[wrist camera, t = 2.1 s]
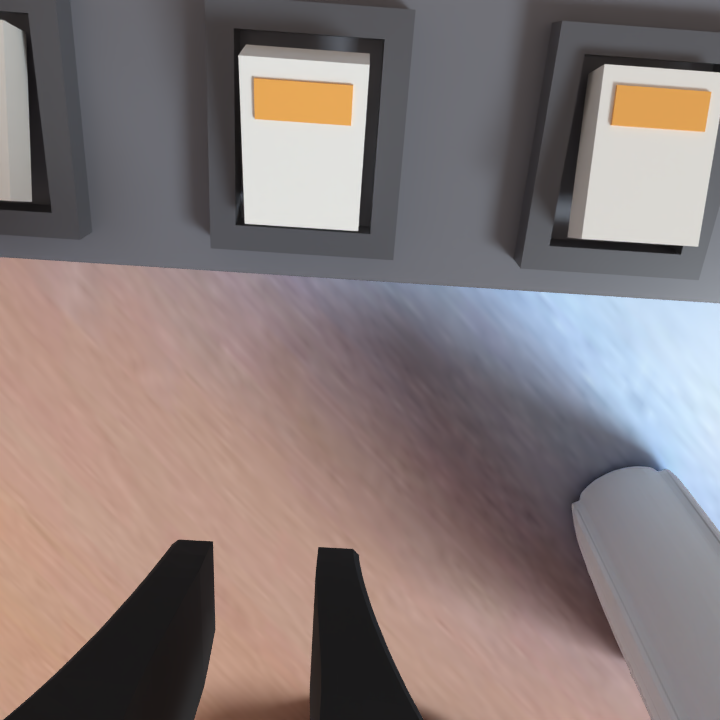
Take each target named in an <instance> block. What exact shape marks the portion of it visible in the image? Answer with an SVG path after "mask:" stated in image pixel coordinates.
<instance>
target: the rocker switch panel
mask: <svg viewBox="0 0 720 720" xmlns="http://www.w3.org/2000/svg"><path fill="white" fill-rule="evenodd" d="M0 20H4V21H6V22H8V23H10V24H11V25H13V26H15V27H17V28H18V29H20V30H22V31H24V32H26V44H27V72H28V101H29V129H30V158H31V186H32V202H23V201H3V200H0V257H9V258H24V259H40V260H55V261H71V262H86V263H102V264H118V265H133V266H149V267H164V268H180V269H195V270H211V271H227V272H242V273H258V274H273V275H289V276H304V277H320V278H335V279H351V280H367V281H382V282H398V283H413V284H429V285H444V286H460V287H476V288H491V289H507V290H522V291H538V292H553V293H569V294H584V295H600V296H616V297H631V298H647V299H662V300H678V301H693V302H709V303H720V119H719V125H718V131H717V137H716V143H715V149H714V155H713V161H712V167H711V173H710V179H709V185H708V191H707V197H706V203H705V209H704V215H703V221H702V227H701V233H700V239H699V244H698V247H695V246H680V245H665V244H650V243H635V242H620V241H605V240H590V239H577V238H568V229H569V221H570V213H571V205H572V197H573V190H574V182H575V174H576V166H577V158H578V150H579V142H580V135H581V127H582V119H583V111H584V103H585V95H586V88H587V80H588V74H589V73H590V72H592V71H594V70H596V69H597V68H599V67H601V66H602V65H604V64H610V65H623V66H637V67H651V68H664V69H678V70H692V71H705V72H719V73H720V0H0ZM245 45H260V46H273V47H287V48H301V49H314V50H328V51H342V52H355V53H369V54H370V67H369V81H368V96H367V110H366V125H365V139H364V154H363V168H362V183H361V197H360V212H359V226H358V231H348V230H333V229H318V228H302V227H287V226H272V225H257V224H245V217H244V190H243V164H242V138H241V111H240V85H239V59H238V55H239V54H240V52H241V51H242V49H243V48H244V47H245Z"/></svg>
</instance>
